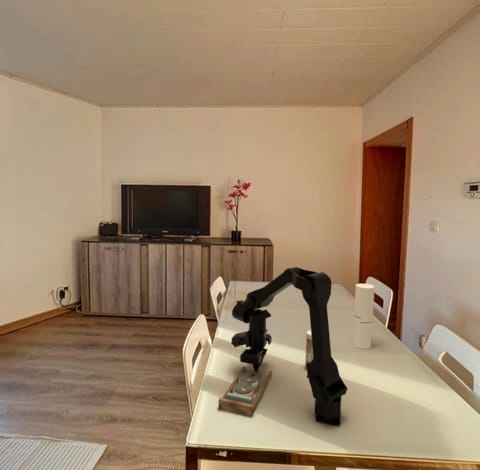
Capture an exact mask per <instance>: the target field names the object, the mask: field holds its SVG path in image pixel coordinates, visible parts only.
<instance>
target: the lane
mask: <svg viewBox="0 0 480 470" xmlns="http://www.w3.org/2000/svg"><path fill="white" fill-rule="evenodd" d="M242 366H243V367H242V368H241V370H240V371H239V372H238V374H237V375H236V376H235V378H234V379H233V381H232V383H231V385H229V387H228V389H227V390H226V391H225V393H224V395H223V396H222V397H219V398H218V410H219V411H223V412H228V413H232V414H236V415H241V416H247V417H249V418H251V417H253V416H254V414H255V411H256V410H257V407H258V405H259V404H260V401H261V399H262V397H263V395H264V393H265V391H266V389H267V386H268V385H269V383H270V381H271V379H272V375H273V374H272V373H273V372H272V370H268V371H267V373H266V376H265V377H264V379H263V381H262V383H261V385H260V387H259V388H258V391H257V392H256V395H255V397H254V398H253V401H252V404H247V403H242V402H238V401H233V400H228V399H227V393H233V386H234V384H236V383H237V382H239V377H240V375H241V374H242V373H245V372H247V365H246V366H245V365H242Z"/></svg>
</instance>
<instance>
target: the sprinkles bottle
mask: <svg viewBox="0 0 480 470" xmlns="http://www.w3.org/2000/svg"><path fill="white" fill-rule="evenodd" d="M305 337H306V342H305V345H306V346H305V357H304V358H305V362H304V363H305V364H304V369H305V370H307V368H306V364H307V363H308V362H311V361H312V359H313V347H312V335H311V329H309V330H307V331H306V335H305Z"/></svg>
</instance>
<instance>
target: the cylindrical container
mask: <svg viewBox="0 0 480 470" xmlns="http://www.w3.org/2000/svg"><path fill="white" fill-rule="evenodd" d="M354 294H355V295H354V307H353V308H354V312H353V313H354V314H353V326H352V327H353V328H352V346H353V347H355V348H357V349H361V350H367V349H368V350H369V349H371V347H372V334H373V333H372V331H373V317H374V305H375V303H374V302H375V301H374V300H375V285H373V284H369V283H356V284H355V293H354Z"/></svg>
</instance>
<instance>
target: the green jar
mask: <svg viewBox="0 0 480 470" xmlns="http://www.w3.org/2000/svg"><path fill="white" fill-rule="evenodd" d="M239 382H248V383H250V384H252V386H253V394H255V393H256V394H257V393H258V391H259V376H258V375H257V373H256V372H255V373H254V372H251V371H250V372H249V371H246V372H245V373H242V374H241V375H240V377H239Z"/></svg>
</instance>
